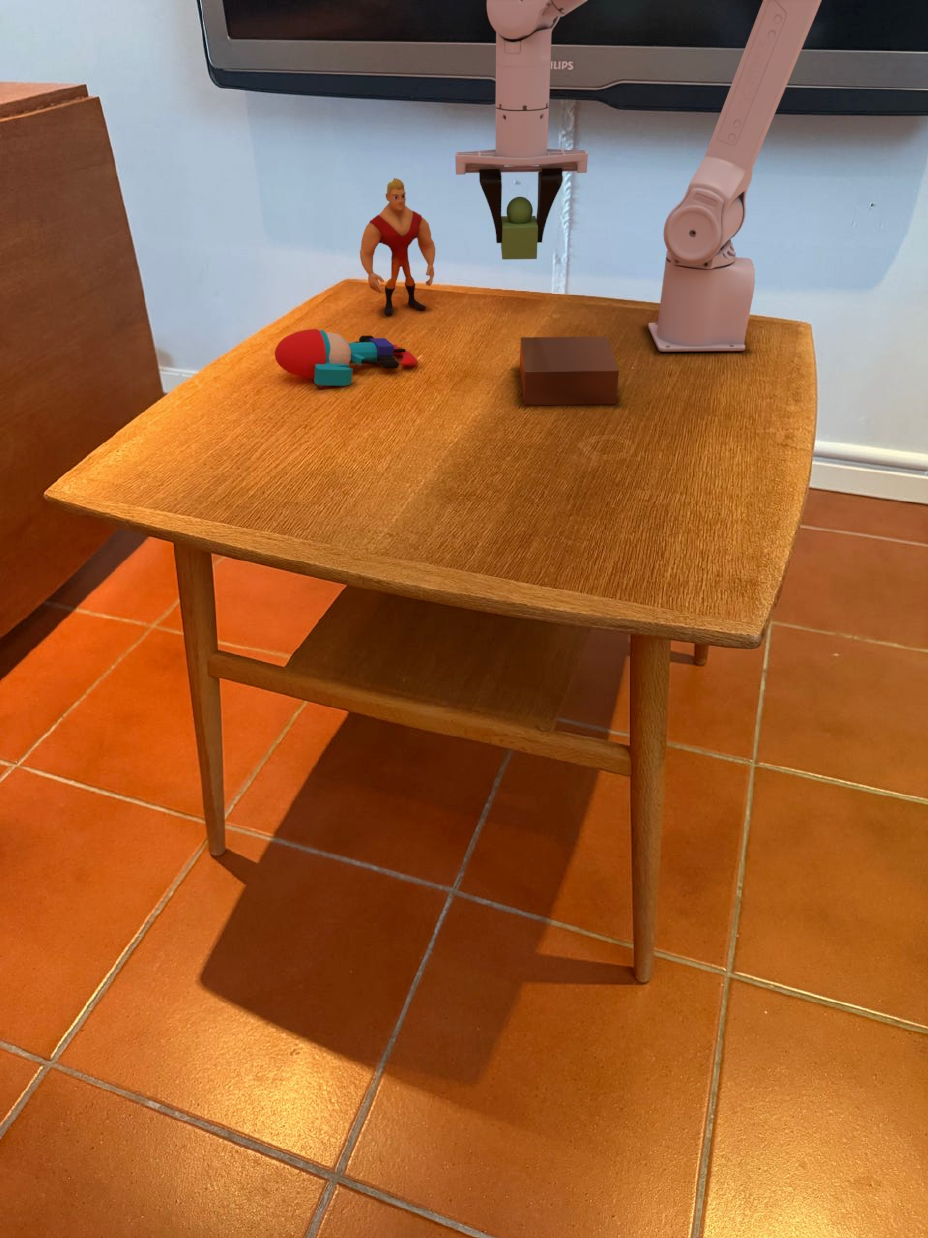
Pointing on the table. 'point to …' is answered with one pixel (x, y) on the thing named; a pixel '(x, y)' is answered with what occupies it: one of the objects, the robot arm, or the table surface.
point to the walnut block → (568, 371)
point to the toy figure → (335, 355)
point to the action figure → (397, 244)
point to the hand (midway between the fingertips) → (519, 240)
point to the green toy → (519, 231)
